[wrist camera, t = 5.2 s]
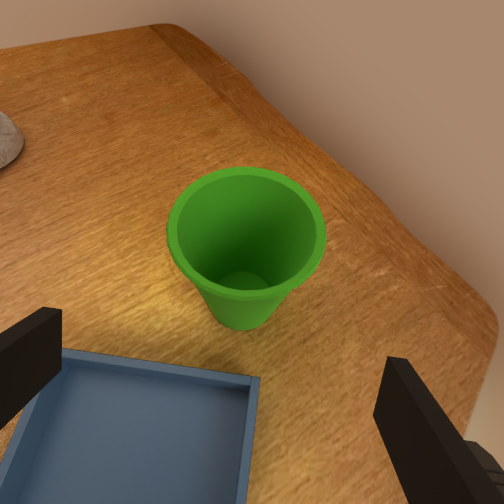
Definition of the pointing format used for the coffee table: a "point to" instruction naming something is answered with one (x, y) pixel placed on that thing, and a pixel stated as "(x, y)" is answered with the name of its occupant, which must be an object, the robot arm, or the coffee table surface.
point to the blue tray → (132, 435)
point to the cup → (245, 241)
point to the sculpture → (9, 140)
